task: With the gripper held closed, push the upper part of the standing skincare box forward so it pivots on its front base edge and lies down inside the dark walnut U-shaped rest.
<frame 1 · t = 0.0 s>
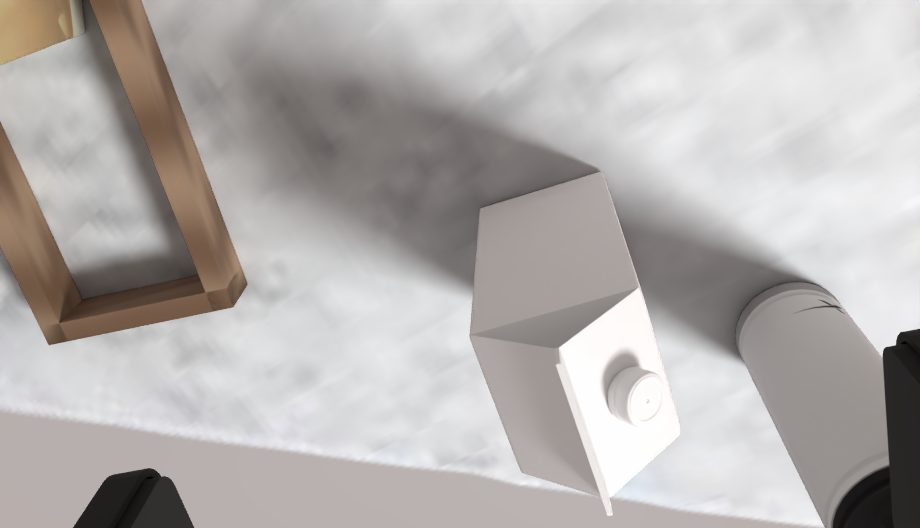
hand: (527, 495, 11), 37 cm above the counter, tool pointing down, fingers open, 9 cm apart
milk carton: (557, 243, 50), on the counter
travel mug: (786, 324, 51), on the counter
walnut rest: (84, 128, 48), on the counter
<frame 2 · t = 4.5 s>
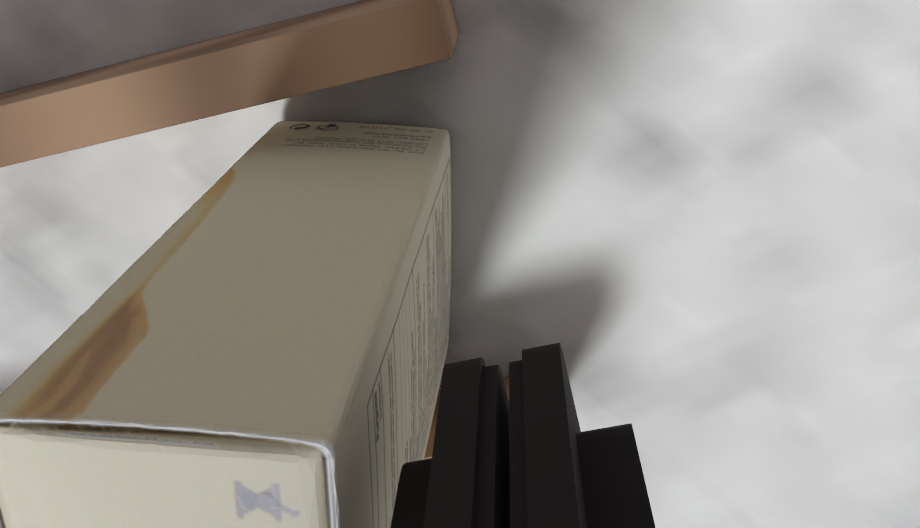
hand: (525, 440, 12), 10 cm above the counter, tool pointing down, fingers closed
skincare box: (368, 242, 22), on the counter, touching gripper
walnut rest: (96, 302, 23), on the counter
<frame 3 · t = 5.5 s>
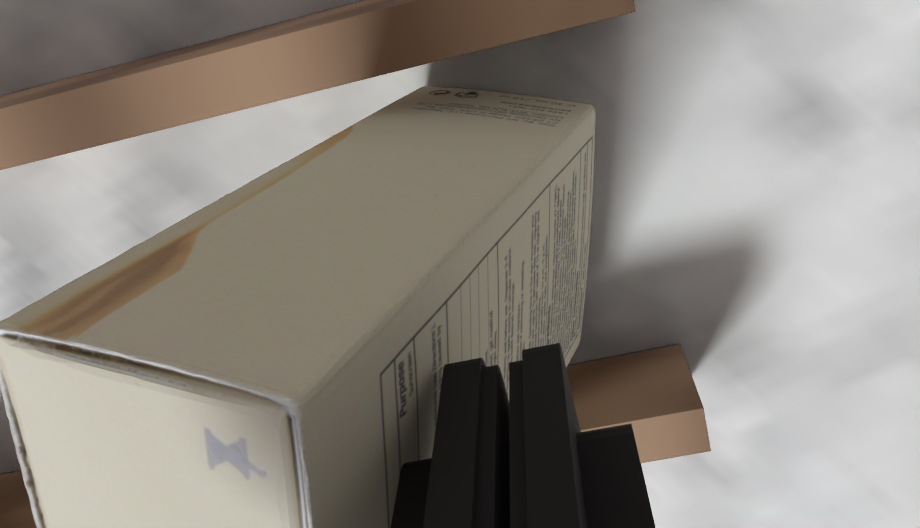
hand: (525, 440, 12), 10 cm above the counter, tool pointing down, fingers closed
skincare box: (506, 221, 21), point 1 cm above the counter, touching gripper
walnut rest: (224, 276, 22), on the counter
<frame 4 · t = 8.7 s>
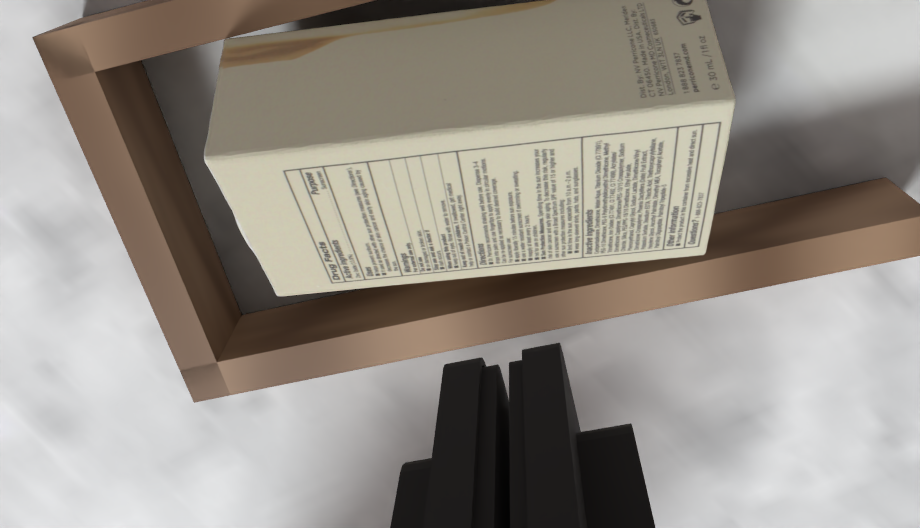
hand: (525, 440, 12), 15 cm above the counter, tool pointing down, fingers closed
skincare box: (714, 128, 23), point 3 cm above the counter, touching walnut rest
walnut rest: (499, 119, 26), on the counter
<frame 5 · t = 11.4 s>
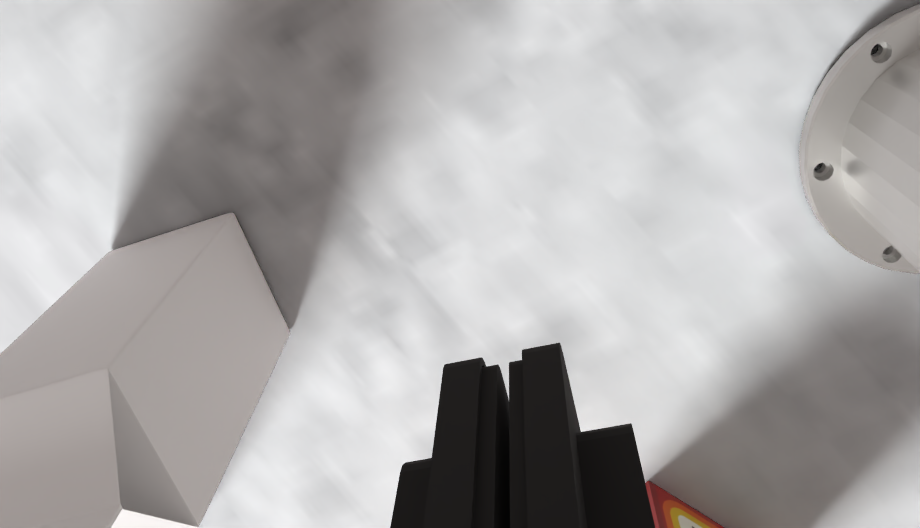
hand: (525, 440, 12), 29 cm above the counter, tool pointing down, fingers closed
milk carton: (203, 290, 45), on the counter
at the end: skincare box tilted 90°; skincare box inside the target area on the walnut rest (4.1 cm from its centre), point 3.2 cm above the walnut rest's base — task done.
